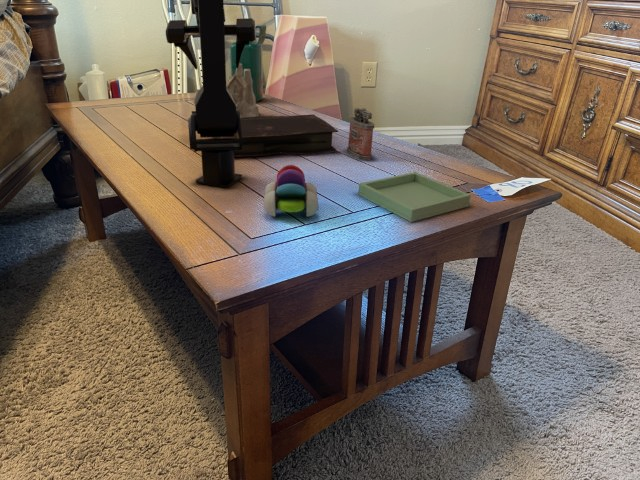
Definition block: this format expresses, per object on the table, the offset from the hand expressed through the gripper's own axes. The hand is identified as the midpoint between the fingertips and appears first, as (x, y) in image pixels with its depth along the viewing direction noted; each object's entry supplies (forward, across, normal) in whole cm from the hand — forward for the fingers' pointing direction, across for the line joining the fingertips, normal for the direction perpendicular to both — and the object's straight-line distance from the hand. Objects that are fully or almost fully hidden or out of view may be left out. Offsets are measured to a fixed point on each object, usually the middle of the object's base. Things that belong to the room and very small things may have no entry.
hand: (217, 68), depth 116 cm
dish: (+3, -36, +45) cm, 58 cm away
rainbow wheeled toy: (+1, -15, +49) cm, 51 cm away
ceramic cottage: (+20, 0, -12) cm, 24 cm away
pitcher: (+28, -4, -35) cm, 45 cm away
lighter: (+12, -31, +20) cm, 38 cm away
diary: (+13, -12, +13) cm, 22 cm away
